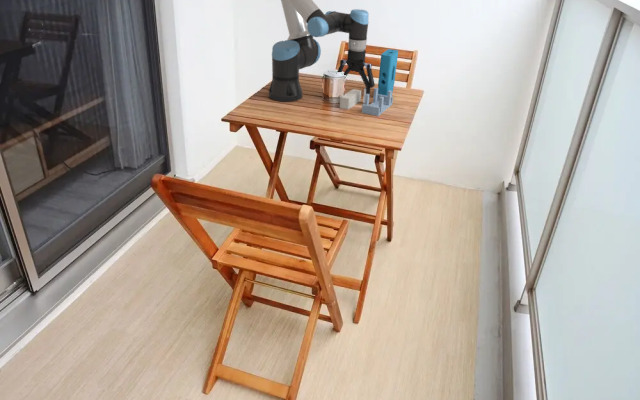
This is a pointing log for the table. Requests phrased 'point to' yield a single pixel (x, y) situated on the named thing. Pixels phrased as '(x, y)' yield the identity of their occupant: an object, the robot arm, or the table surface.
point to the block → (387, 71)
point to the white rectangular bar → (350, 99)
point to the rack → (377, 103)
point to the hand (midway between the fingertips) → (352, 99)
